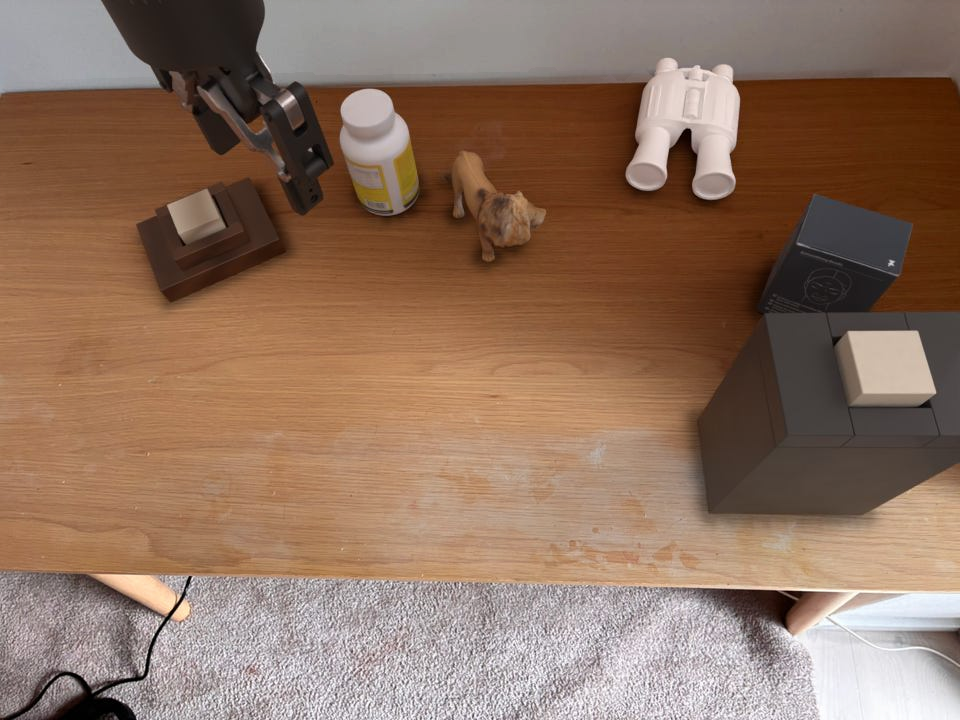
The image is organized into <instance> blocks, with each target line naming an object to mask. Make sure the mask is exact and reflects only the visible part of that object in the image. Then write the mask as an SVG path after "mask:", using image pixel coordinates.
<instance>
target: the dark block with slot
mask: <svg viewBox="0 0 960 720" xmlns="http://www.w3.org/2000/svg"><path fill="white" fill-rule="evenodd" d="M847 331H918V333H919V336H920V340H921V343H922V346H923V350H924V353H925V356H926V360H927V363H928V366H929V370H930V373H931V376H932V380H933V383H934V386H935V390H936V394H935V395H933V396H932V397H931V398H929V399H928V400H927V401H925V402H924V403H923V404H921V405H920V406H919V407H847V402H846V398H845V394H844V390H843V385H842V381H841V377H840V373H839V368H838V364H837V360H836V356H835V351H834V346H835V345H836V344H837V342H838V341H839V340H840V339H841V338H842V337H843V336H844V335H845V333H846V332H847ZM696 424H697V432H698V440H699V441H698V442H699V447H700V448H699V449H700V456H701V464H702V473H703V479H704V488H705V494H706V503H707V511H708V513H709V514H710V515H800V516H801V515H805V516H806V515H807V516H808V515H811V516H815V515H817V516H819V515H820V516H826V515H827V516H864V515H866V514H868V513H870V512H871V511H873V510H875V509H877V508H879V507H880V506H882V505H884V504H886V503H888V502H890V501H891V500H893V499H895V498H897V497H899V496H901V495H902V494H905V493H907V492H908V491H909V490H912V489H914V488H915V487H918V486H919V485H921V484H923V483H925V482H926V481H928V480H930V479H933V478H934V477H935V476H938V475H939V474H941V473H943V472H945V471H947V470H948V469H951V468H952V467H954V466H956V465H958V464H959V463H960V311H883V312H882V311H868V312H845V313H765V314H763V315H762V316H761V318H760V320H759V321H758V323H757V325H756V326H755V327H754V329H753V330H752V332H751V333H750V336H749V337H748V338H747V340H746V342H745V343H744V345H743V346H742V347H741V349H740V351H739V353H738V354H737V356H736V358H735V359H734V361H733V362H732V363H731V366H730V368H729V369H728V370H727V372H726V373H725V375H724V377H723V378H722V380H721V381H720V383H719V385H718V386H717V388H716V390H715V391H714V393H713V394H712V396H711V397H710V399H709V401H708V402H707V404H706V405H705V407H704V409H703V410H702V412H701V413H700V415H698V418H697V420H696Z"/></svg>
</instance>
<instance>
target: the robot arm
mask: <svg viewBox="0 0 960 720" xmlns="http://www.w3.org/2000/svg"><path fill="white" fill-rule="evenodd" d="M100 2H101V3H102V5H103V6H104V8H105V10H106V11H107V13H108V15H109V16H110V18H111V20H112V22H113V24H114V25H115V27H116V29H117V30H118V32H119V35H121V37H122V39H123V40H124V42H125V45H126V46H127V47H128V49H129V51H131V53H132V54H133V55H134V56H135V57H136V58H137V59H139V60H140V61H141V62H143V63H144V64H146V65H148V66H149V67H150V68H151V71H152V73H153V74H154V76H155V78H156V81H157V82H158V84H159V86H160V87H161V88H162V89H163V90H164V91H166V92H167V93H168V94H171V93H173V92H174V93H175V94H176V96H177V99H178V101H179V105H180V106H181V107H182V109H184V110H185V111H187V112H188V113H189V114H192V116H193V119H194V120H195V122H196V124H197V126H198V128H199V129H200V131H201V133H202V135H203V137H204V139H205V140H206V141H207V144H208V146H209V148H210V149H211V150H212V151H213V152H215V154H217V155H218V156H224V155H226V154H227V153H228V152H230V151H231V150H233V149H234V148H235V147H236V146H237V145H239V144H240V143H242V144H243V145H244V147H245V148H246V149H247V150H248V151H250V152H252V153H254V152H255V153H256V152H258V153H260V154H261V155H262V156H263V158H264V159H265V161H266V162H267V164H269V166H270V167H271V169H273V171H274V172H275V174H276V177H277V180H278V181H279V184H280V187H281V189H282V190H283V192H284V194H285V196H286V199H287V201H288V203H289V205H290V208H291V210H292V211H293V212H295V213H296V214H297V215H299V216H302V217H303V216H305V215H307V214H308V213H309V212H310V211H312V210H313V209H314V208H316V207H317V205H319V204H320V203H321V202H322V201H324V192H323V190H322V187H321V185H320V182H319V179H318V178H319V177H321V175H323V174H325V172H327V171H329V170H330V169H331V168H332V167H334V165H335V161H334V159H333V155H332V154H331V151H330V148H329V146H328V143H327V140H326V138H325V135H324V131H323V129H322V126H321V125H320V122H319V120H318V116H317V114H316V110H315V108H314V106H313V103H312V101H311V99H310V96H309V93H308V92H307V90H306V88H305V87H304V86H303V84H301V83H300V82H298V81H296V80H294V81H292V83H290V84H289V85H288V86H286V87H285V88H282V87H281V86H280V85H278V84H277V83H276V82H275V81H274V79H273V76H272V71H271V68H270V67H269V66H268V64H267V63H266V61H265V60H264V59H263V56H261V54H260V53H259V52H258V51H257V45H258V41H259V37H260V35H261V32H262V28H263V25H264V23H265V18H266V7H265V1H264V0H100ZM261 116H262V118H263V120H262V125H263V126H264V127H263V128H262V129H260V130H259V131H258V132H254V131H253V130H251V128H250V126H248V125H250V124H251V123H253V122H254V121H255V120H257V119H258V118H260V117H261ZM273 142H274V145H275V146H276V148H277V150H278V152H277V150H276V149H275V147H274V145H273Z"/></svg>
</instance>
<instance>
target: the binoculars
mask: <svg viewBox="0 0 960 720" xmlns="http://www.w3.org/2000/svg"><path fill="white" fill-rule="evenodd" d="M678 67H679V64H678V62H677V60H675V59H674V58H671V57H664V58H661V59H660V60H659V61H658V62H657V63H656V66H655V72H654V76H653V77H652V78H651V79H650V80H648V82H647V84H646V85H645V86H644V88H643V91H642V94H641V99H640V100H641V101H640V106H639V111H638V116H637V123H636V128H635V135H634V136H635V141H636V143H637V144H638V146H637V148H636V150H635V153H634V155H633V158H632V159H631V161H630V162H629V164H628V165H627V167H626V170H625V178H626V181H627V183H628V184H629V185H630V186H631V187H633V188H635V189H637V190H640V191H645V192H648V191H649V192H652V191H656V190H659V189H661V188H662V187H664V185H665V184H666V181H667V179H668V170H667V165H668V157H669V153H670V149H671V148H673V147H674V146H675V145H676V143H677V142H678V140H679V139H680V136H681V135H682V133H683V132H684V130H686V129H690V131H691V149H692V151H693V152H694V153H695V154H696V155H697V159H696V168H695V175H694V177H693V178H692V183H691V189H692V192H693V193H694V195H695V196H697V198H700V199H703V200H708V201H713V200H714V201H715V200H720V199H724V198H726V197H727V196H729V195H731V194H732V193H733V192H734V190H735V188H736V182H737V181H736V177H735V175H734V174H735V173H734V172H733V168H732V161H731V156H730V155H731V153H733V152H734V150H735V148H736V146H737V139H738V127H739V117H740V106H741V97H740V94H739V91H738V89H737V86H736V85H734V84H733V83H734V82H733V81H734V69H733V68H732V66H731V65H729V64H726V63H720V64H717V65H716V66H714V67H713V68H712V69H711V71H710V70H708V69H702V68H701V66H700V65H699V64H698V65H697V64H695V65H694V66H693V67H682V68H678Z"/></svg>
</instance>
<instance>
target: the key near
mask: <svg viewBox="0 0 960 720" xmlns="http://www.w3.org/2000/svg"><path fill="white" fill-rule="evenodd" d="M834 351H835V356H836V360H837V364H838V368H839V373H840V377H841V381H842V385H843V390H844V394H845V398H846V402H847V407H919V406H920V405H921V404H923V403H924V402H925V401H927V400H928V399H929V398H931V397H932V396H933V395H935V394H936V390H935V386H934V383H933V380H932V376H931V373H930V370H929V366H928V363H927V360H926V356H925V353H924V350H923V346H922V343H921V340H920V336H919V333H918V331H847V332H846V333H845V335H844V336H843V337H842V338H841V339H840V340H839V341H838V342H837V344H836V345H835V346H834Z"/></svg>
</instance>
